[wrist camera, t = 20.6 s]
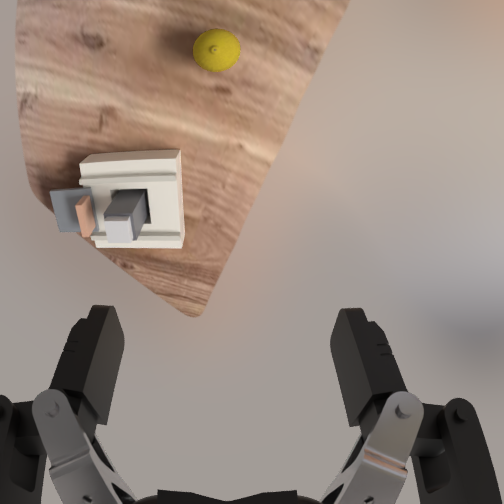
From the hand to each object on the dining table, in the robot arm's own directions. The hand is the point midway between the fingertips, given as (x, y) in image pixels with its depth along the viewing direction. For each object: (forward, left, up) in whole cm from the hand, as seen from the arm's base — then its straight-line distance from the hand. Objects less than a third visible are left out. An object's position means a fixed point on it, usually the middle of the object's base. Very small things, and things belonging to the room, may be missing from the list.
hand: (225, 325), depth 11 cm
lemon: (-9, -2, -36) cm, 37 cm away
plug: (+12, -14, -36) cm, 40 cm away
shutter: (+12, -23, -32) cm, 41 cm away
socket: (+12, -14, -36) cm, 41 cm away
